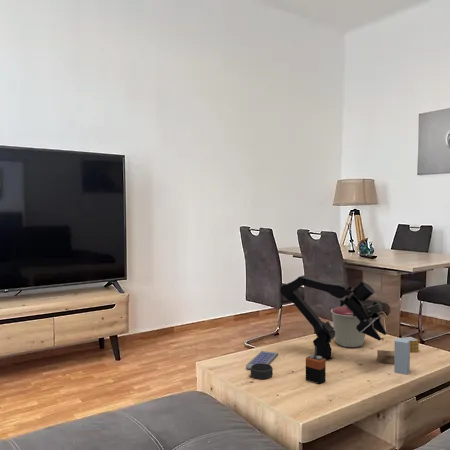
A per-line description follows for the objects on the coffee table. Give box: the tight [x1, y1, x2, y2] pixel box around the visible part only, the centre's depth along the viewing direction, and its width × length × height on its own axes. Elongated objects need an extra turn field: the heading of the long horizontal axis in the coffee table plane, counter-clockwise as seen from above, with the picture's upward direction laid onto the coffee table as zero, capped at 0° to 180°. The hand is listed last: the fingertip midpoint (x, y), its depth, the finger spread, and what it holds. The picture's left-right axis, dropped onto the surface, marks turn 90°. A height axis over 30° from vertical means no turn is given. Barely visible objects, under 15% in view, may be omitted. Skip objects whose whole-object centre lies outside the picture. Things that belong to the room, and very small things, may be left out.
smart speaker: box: [250, 363, 274, 380], centre depth 191 cm, size 9×9×4 cm
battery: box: [305, 354, 327, 385], centre depth 185 cm, size 4×7×10 cm, turn 47°
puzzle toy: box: [400, 336, 420, 354], centre depth 220 cm, size 6×6×6 cm
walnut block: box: [376, 349, 395, 366], centre depth 206 cm, size 7×7×4 cm
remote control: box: [245, 350, 279, 372], centre depth 207 cm, size 8×23×2 cm, turn 157°
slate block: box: [393, 337, 411, 375], centre depth 194 cm, size 5×5×13 cm
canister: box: [330, 305, 366, 348], centre depth 231 cm, size 18×18×21 cm
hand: (383, 337), depth 198 cm, fingers open, 9 cm apart
